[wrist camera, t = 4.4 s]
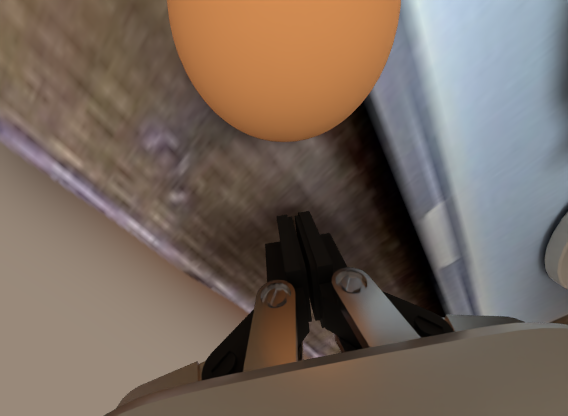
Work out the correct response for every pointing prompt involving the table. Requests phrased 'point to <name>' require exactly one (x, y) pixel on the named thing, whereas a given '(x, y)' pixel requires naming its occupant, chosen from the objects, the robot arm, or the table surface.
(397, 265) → the table surface
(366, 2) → the ball
